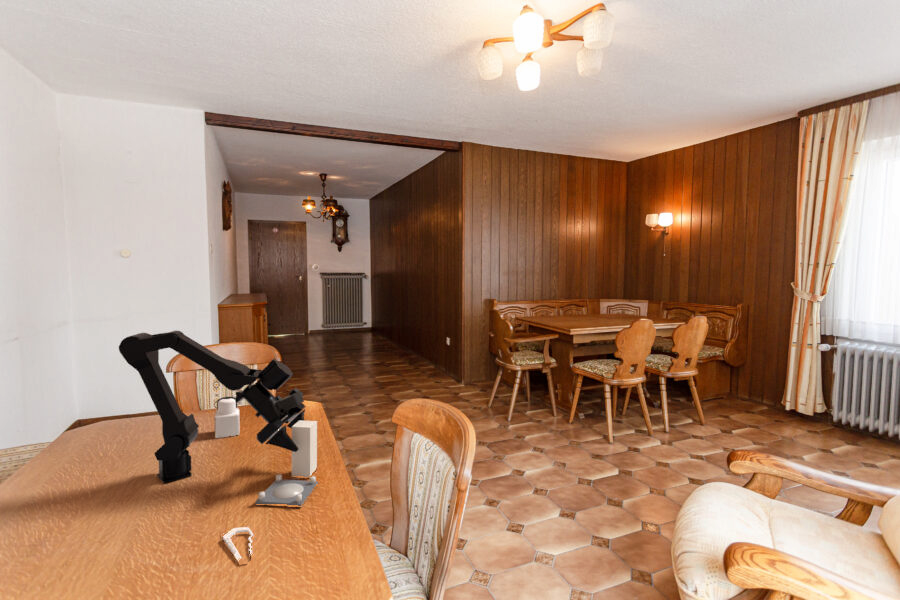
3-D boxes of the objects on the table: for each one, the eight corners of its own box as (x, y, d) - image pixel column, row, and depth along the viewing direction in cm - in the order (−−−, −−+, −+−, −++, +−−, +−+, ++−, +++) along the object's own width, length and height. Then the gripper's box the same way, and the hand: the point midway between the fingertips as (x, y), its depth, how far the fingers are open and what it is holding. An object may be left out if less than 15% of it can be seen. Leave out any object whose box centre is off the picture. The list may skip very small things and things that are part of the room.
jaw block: (310, 479, 118) (310, 427, 117) (291, 478, 118) (291, 426, 117) (316, 470, 123) (317, 421, 122) (299, 469, 123) (299, 420, 122)
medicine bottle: (216, 431, 150) (215, 396, 149) (239, 428, 153) (239, 394, 152) (214, 438, 143) (214, 402, 142) (239, 435, 146) (239, 400, 145)
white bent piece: (267, 561, 87) (267, 553, 86) (240, 572, 83) (240, 564, 83) (244, 528, 96) (244, 520, 96) (219, 537, 93) (219, 529, 92)
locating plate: (301, 508, 104) (301, 497, 104) (255, 505, 105) (255, 494, 104) (318, 485, 115) (318, 475, 115) (276, 482, 116) (276, 473, 115)
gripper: (268, 391, 110) (311, 437, 110) (298, 373, 129) (335, 412, 129) (237, 421, 111) (281, 466, 111) (272, 399, 130) (309, 438, 130)
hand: (304, 443), depth 120 cm, fingers open, 9 cm apart
